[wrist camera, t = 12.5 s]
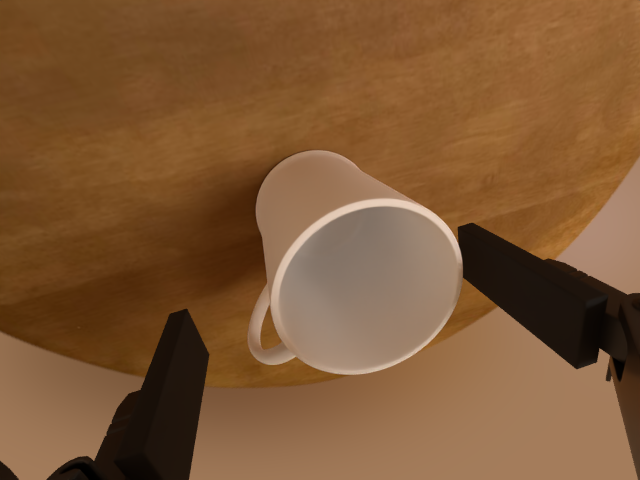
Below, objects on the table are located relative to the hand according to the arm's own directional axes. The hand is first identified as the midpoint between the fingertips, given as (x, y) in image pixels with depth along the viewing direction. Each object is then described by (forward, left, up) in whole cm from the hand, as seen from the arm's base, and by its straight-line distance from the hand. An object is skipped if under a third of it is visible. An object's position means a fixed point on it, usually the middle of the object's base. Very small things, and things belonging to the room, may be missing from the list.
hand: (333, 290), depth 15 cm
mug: (0, 0, -10) cm, 10 cm away
